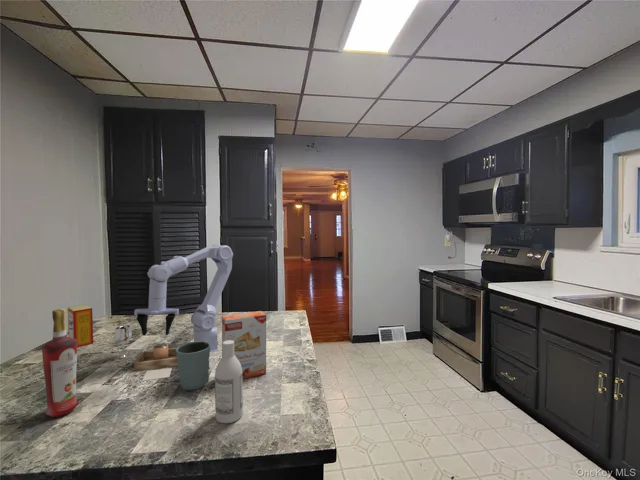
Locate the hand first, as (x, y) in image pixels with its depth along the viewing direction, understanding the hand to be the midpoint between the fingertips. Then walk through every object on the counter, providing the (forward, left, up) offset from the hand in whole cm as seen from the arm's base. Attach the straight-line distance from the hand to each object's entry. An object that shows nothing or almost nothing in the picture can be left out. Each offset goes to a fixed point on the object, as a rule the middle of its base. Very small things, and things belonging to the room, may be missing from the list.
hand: (156, 334), depth 113 cm
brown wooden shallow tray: (-1, 0, -11) cm, 11 cm away
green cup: (-14, +20, -11) cm, 27 cm away
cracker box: (-30, +20, -11) cm, 38 cm away
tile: (-2, +10, -11) cm, 15 cm away
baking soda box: (+35, -34, -11) cm, 50 cm away
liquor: (+19, +25, -11) cm, 33 cm away
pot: (-1, 0, -11) cm, 11 cm away
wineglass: (+13, -10, -11) cm, 20 cm away
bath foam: (-24, +42, -11) cm, 50 cm away
